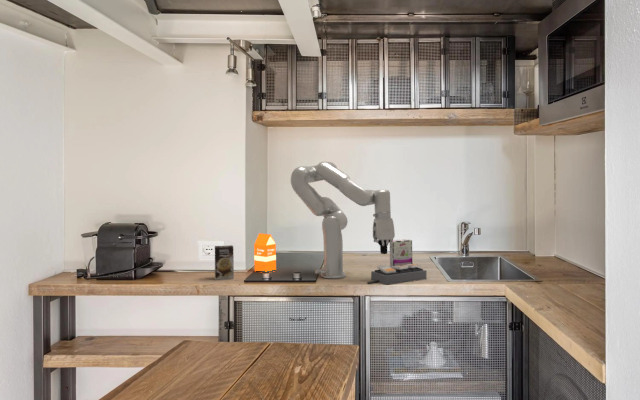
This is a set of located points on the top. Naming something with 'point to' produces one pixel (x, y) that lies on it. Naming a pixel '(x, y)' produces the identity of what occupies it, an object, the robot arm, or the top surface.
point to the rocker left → (386, 269)
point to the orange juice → (265, 253)
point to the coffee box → (224, 262)
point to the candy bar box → (400, 252)
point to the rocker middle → (399, 267)
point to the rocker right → (412, 265)
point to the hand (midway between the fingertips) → (383, 253)
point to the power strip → (398, 276)
